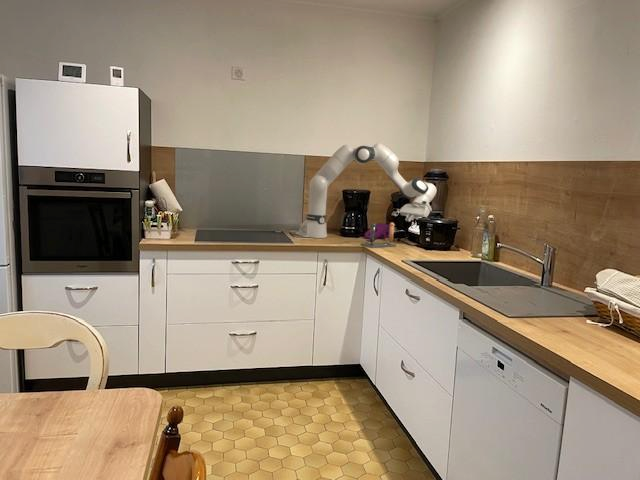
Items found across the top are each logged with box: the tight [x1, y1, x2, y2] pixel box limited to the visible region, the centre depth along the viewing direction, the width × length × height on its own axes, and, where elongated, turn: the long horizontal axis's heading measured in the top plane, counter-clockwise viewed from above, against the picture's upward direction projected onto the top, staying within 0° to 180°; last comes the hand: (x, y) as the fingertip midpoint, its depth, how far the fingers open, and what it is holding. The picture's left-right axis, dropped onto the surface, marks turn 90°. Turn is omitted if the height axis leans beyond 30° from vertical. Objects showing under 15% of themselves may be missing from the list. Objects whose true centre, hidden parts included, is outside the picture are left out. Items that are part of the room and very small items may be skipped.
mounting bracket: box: [364, 222, 390, 240], centre depth 314 cm, size 9×8×18 cm
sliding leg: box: [384, 222, 395, 243], centre depth 286 cm, size 6×3×12 cm, turn 38°
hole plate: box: [360, 239, 397, 249], centre depth 281 cm, size 10×19×2 cm, turn 128°
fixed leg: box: [365, 222, 377, 244], centre depth 276 cm, size 6×3×12 cm, turn 37°
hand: (407, 220), depth 292 cm, fingers closed
